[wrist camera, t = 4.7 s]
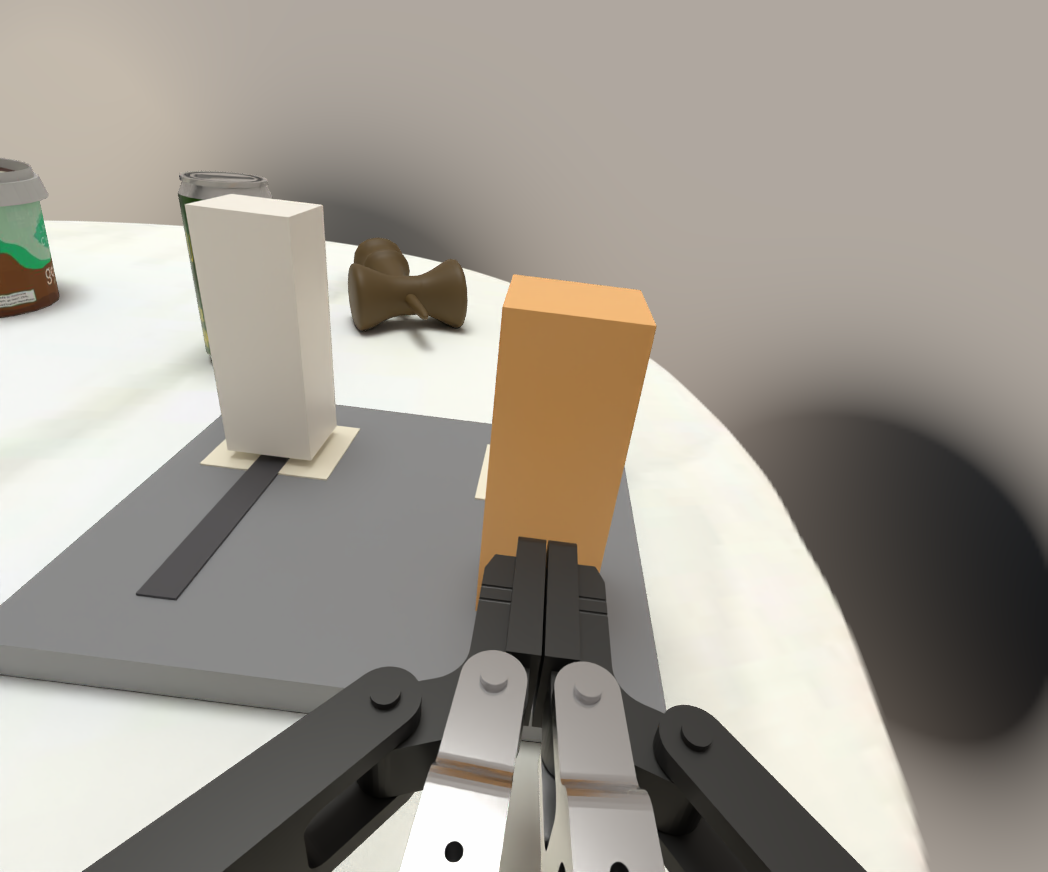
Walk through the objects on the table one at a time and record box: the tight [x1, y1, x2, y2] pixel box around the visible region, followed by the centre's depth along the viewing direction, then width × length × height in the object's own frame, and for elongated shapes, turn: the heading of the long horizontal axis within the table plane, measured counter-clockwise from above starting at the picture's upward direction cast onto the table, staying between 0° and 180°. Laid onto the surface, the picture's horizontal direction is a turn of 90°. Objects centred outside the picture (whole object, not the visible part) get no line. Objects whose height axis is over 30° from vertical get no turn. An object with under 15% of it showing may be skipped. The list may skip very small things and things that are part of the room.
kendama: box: [348, 238, 467, 331], centre depth 52 cm, size 6×10×20 cm
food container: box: [0, 158, 59, 318], centre depth 44 cm, size 12×6×10 cm, turn 48°
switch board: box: [0, 405, 666, 743], centre depth 26 cm, size 18×22×2 cm
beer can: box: [178, 171, 273, 359], centre depth 38 cm, size 5×5×12 cm
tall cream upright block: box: [185, 194, 337, 461], centre depth 26 cm, size 4×4×11 cm
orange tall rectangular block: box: [475, 275, 656, 611], centre depth 19 cm, size 4×4×11 cm
